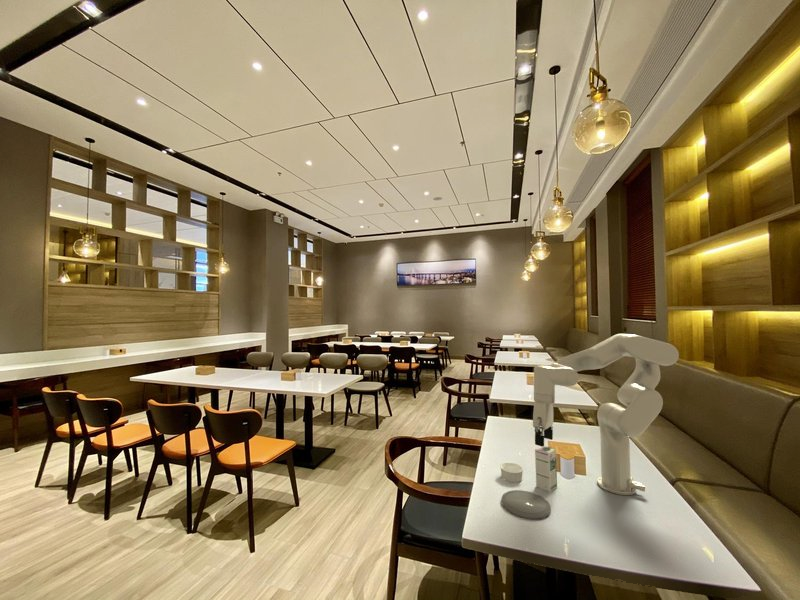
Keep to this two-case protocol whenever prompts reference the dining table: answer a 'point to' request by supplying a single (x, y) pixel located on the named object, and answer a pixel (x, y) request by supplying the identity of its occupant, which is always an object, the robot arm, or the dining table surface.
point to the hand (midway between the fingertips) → (543, 442)
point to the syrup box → (546, 468)
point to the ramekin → (511, 472)
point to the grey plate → (526, 504)
